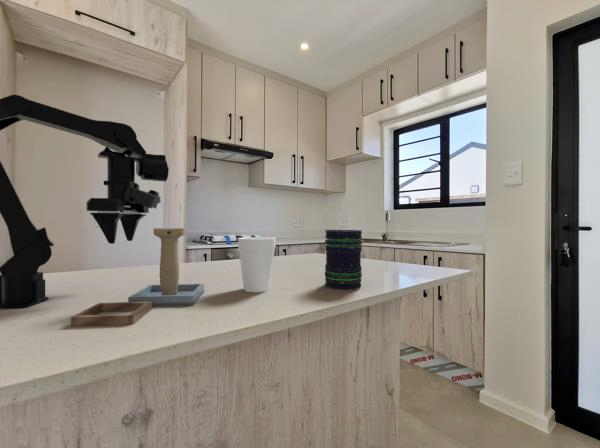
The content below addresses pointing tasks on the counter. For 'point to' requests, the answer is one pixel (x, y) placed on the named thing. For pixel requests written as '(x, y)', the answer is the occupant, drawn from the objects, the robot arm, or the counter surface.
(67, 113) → the robot arm
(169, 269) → the handle
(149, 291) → the tray
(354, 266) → the storage jar
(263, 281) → the foam cup
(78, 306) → the counter surface
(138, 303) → the brown square frame
